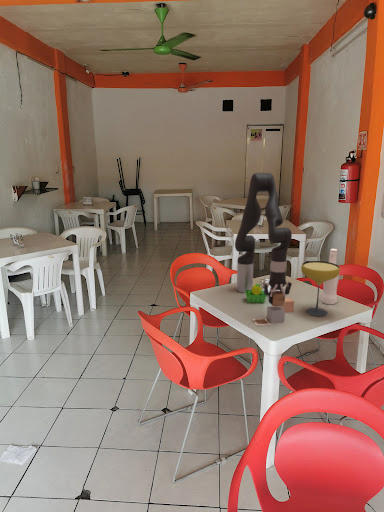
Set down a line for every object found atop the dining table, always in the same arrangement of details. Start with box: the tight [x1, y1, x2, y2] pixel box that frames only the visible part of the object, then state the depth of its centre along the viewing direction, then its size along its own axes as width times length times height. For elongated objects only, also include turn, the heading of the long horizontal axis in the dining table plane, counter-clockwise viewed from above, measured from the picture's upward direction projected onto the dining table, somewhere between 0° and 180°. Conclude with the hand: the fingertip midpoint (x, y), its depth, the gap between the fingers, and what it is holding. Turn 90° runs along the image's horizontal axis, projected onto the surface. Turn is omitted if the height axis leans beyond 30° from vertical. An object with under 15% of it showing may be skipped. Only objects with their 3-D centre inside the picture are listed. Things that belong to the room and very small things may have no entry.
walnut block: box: [270, 290, 284, 306], centre depth 187 cm, size 5×5×6 cm
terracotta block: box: [281, 297, 295, 314], centre depth 201 cm, size 5×5×6 cm
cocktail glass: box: [300, 260, 341, 318], centre depth 195 cm, size 18×18×25 cm
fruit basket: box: [245, 283, 268, 304], centre depth 212 cm, size 11×9×11 cm
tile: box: [251, 317, 272, 327], centre depth 187 cm, size 7×7×1 cm
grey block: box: [266, 305, 286, 324], centre depth 190 cm, size 6×6×6 cm
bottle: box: [320, 248, 340, 305], centre depth 208 cm, size 8×8×30 cm
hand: (276, 302), depth 188 cm, fingers closed on walnut block, 5 cm apart
